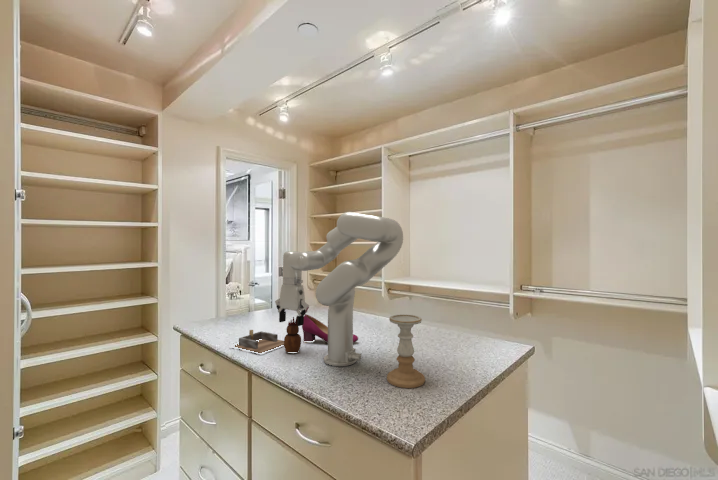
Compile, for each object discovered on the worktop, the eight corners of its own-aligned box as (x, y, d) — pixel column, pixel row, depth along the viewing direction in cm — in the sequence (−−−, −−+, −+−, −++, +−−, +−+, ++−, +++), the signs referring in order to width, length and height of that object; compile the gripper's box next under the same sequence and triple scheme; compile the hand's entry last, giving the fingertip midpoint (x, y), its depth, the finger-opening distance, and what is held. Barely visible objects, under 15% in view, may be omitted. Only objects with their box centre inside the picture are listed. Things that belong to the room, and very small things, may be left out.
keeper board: (288, 344, 142) (288, 330, 142) (260, 355, 128) (260, 339, 128) (258, 338, 152) (258, 325, 152) (229, 347, 138) (229, 333, 138)
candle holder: (378, 380, 105) (378, 317, 105) (402, 369, 114) (402, 312, 114) (409, 392, 96) (409, 324, 96) (432, 380, 105) (432, 317, 105)
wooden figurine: (302, 350, 134) (302, 314, 135) (298, 355, 129) (298, 317, 129) (286, 349, 135) (286, 313, 135) (282, 354, 129) (282, 317, 129)
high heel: (357, 346, 140) (357, 317, 140) (299, 345, 141) (299, 317, 141) (358, 340, 148) (358, 313, 149) (303, 339, 150) (303, 313, 150)
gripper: (314, 282, 131) (313, 324, 131) (282, 279, 140) (282, 318, 140) (302, 284, 125) (301, 328, 125) (270, 280, 133) (269, 322, 133)
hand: (291, 323), depth 132 cm, fingers open, 9 cm apart
